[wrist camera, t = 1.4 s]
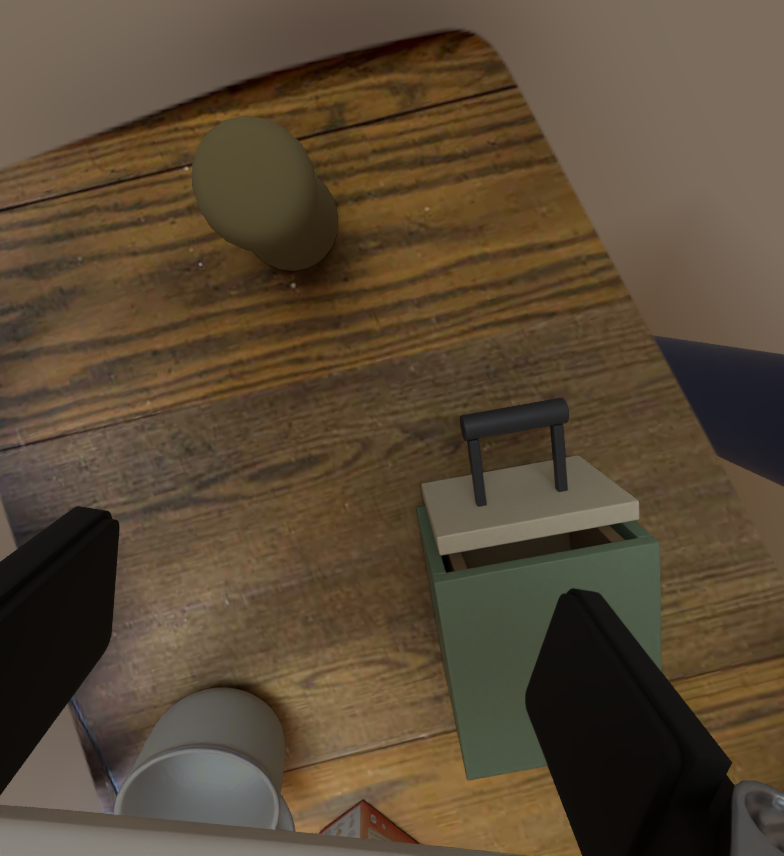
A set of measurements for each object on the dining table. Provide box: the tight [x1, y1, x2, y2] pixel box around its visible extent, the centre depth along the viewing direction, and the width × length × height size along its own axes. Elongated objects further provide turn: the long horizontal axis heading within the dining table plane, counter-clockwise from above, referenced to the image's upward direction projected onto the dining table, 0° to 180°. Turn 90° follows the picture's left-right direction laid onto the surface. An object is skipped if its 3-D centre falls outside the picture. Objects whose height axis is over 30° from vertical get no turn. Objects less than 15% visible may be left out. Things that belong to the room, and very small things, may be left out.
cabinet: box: [416, 506, 662, 780], centre depth 33 cm, size 15×13×10 cm
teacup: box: [114, 688, 295, 832], centre depth 36 cm, size 14×11×8 cm
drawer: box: [421, 398, 639, 573], centre depth 31 cm, size 19×11×8 cm, turn 10°
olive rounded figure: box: [192, 116, 338, 271], centre depth 24 cm, size 6×6×11 cm
